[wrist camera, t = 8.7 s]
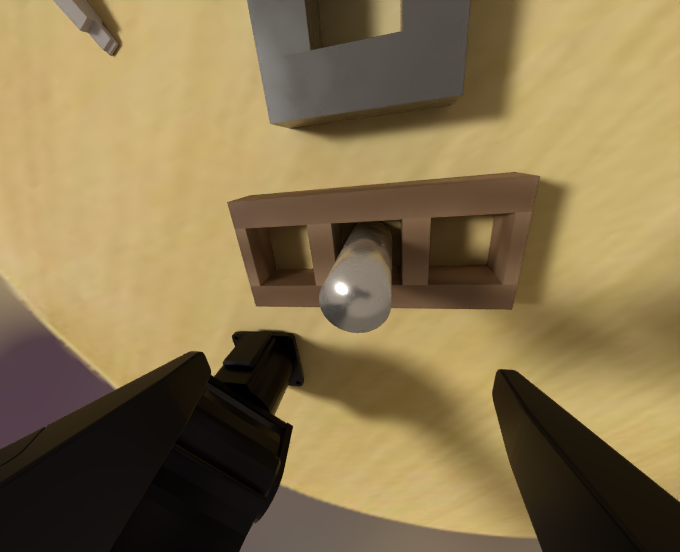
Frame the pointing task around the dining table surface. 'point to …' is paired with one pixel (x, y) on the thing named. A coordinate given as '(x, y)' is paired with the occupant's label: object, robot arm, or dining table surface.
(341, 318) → the metal peg
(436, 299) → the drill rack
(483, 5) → the dining table surface
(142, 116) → the dining table surface
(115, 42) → the caliper
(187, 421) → the robot arm
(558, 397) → the dining table surface
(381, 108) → the socket block
